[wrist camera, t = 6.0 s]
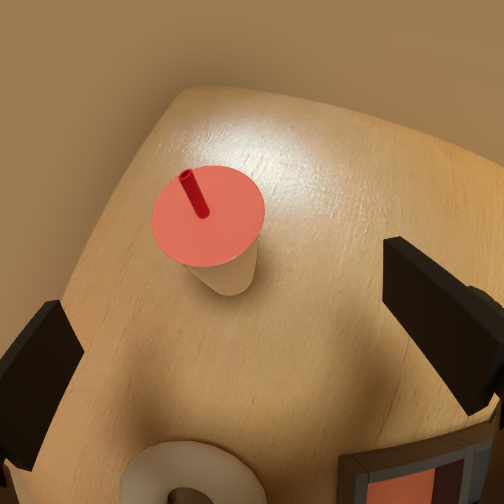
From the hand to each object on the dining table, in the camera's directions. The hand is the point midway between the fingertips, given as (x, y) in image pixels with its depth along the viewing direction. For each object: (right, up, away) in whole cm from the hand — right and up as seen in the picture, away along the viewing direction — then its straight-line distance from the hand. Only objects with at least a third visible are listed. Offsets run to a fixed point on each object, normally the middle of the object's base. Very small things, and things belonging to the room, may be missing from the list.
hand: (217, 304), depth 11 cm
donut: (-3, -15, +5) cm, 16 cm away
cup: (0, 0, +11) cm, 11 cm away
